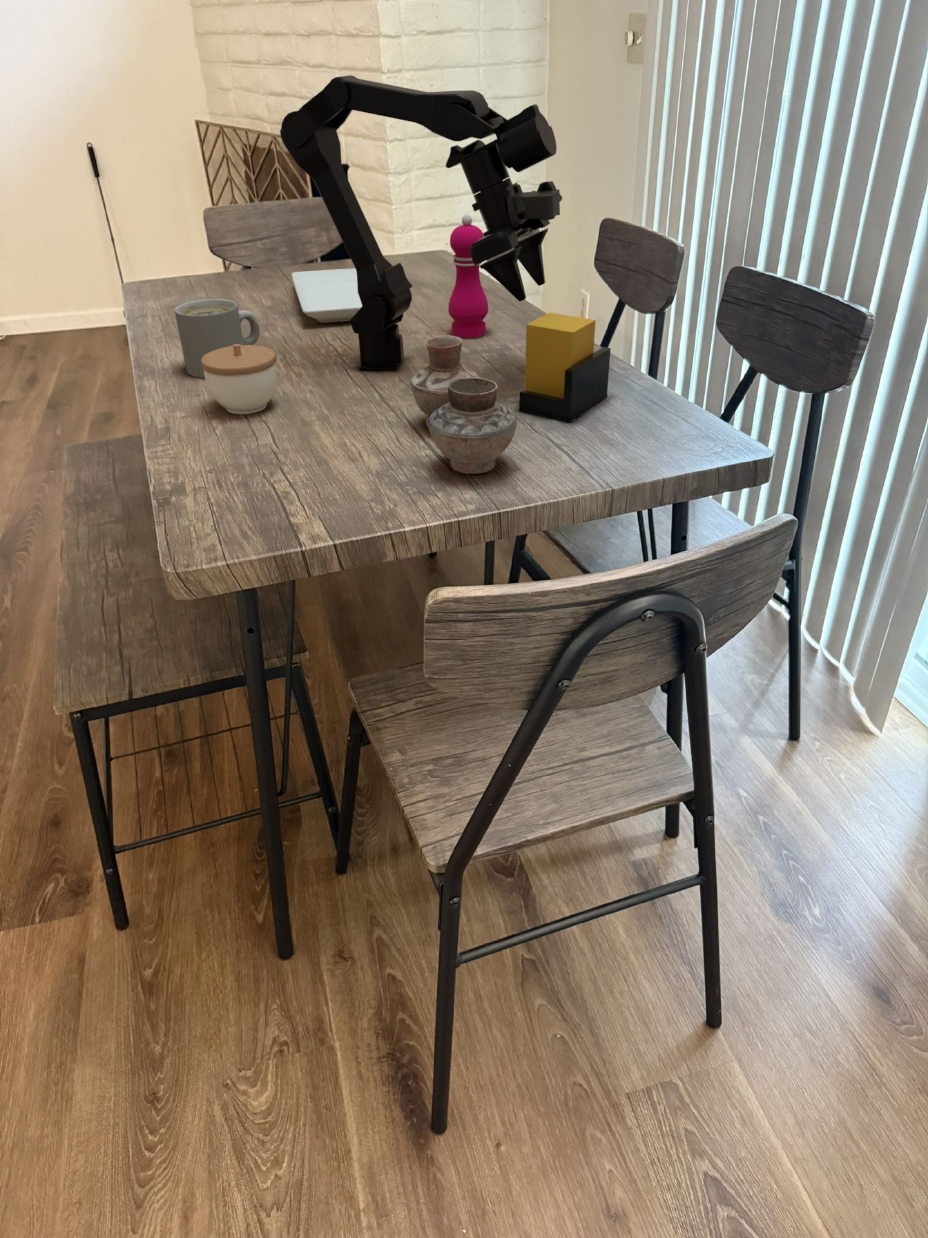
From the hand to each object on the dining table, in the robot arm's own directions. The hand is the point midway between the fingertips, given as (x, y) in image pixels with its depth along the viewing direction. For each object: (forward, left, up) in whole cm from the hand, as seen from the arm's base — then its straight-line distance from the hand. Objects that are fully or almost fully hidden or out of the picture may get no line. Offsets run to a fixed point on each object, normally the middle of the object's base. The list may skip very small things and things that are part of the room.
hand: (532, 292), depth 133 cm
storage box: (+4, -9, -14) cm, 17 cm away
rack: (+5, -9, -14) cm, 17 cm away
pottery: (-9, -25, -14) cm, 30 cm away
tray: (-40, +43, -14) cm, 61 cm away
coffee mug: (-51, +5, -14) cm, 53 cm away
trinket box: (-42, -13, -14) cm, 46 cm away
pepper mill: (-12, +25, -14) cm, 31 cm away
